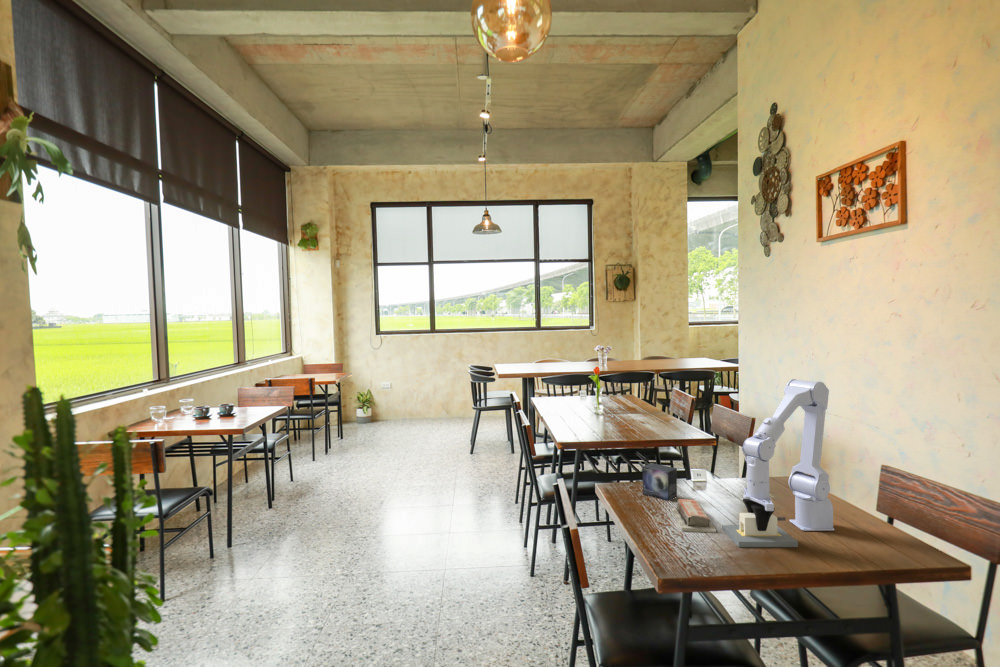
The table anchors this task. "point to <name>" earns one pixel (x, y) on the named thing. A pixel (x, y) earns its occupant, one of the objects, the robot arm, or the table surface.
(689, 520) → the packaged product
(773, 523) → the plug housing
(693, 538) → the table surface
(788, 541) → the board
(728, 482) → the table surface
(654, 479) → the small box
